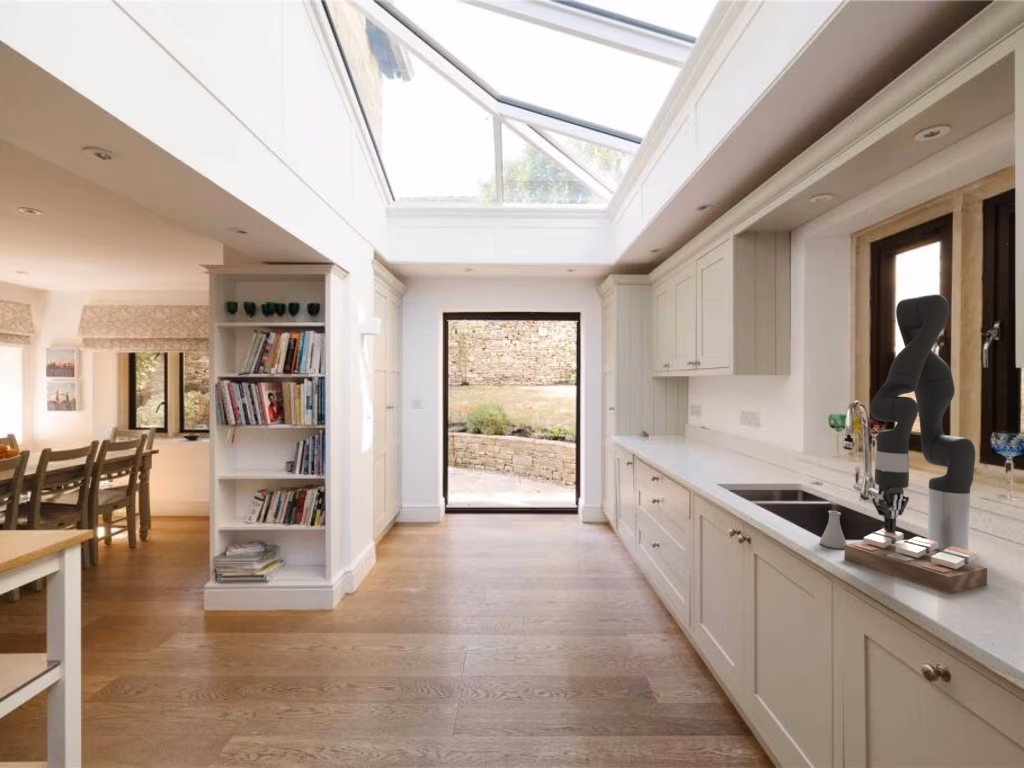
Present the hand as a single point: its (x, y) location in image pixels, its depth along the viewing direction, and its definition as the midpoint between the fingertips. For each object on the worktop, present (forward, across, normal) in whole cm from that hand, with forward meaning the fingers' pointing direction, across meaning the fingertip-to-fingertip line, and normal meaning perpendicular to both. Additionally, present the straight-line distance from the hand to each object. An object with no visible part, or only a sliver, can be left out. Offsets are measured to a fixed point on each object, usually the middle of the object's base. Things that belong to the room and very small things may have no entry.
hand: (889, 531), depth 139 cm
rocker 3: (+2, +3, +16) cm, 16 cm away
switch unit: (+8, +5, +8) cm, 12 cm away
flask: (+8, +4, -13) cm, 16 cm away
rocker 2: (+2, +3, +8) cm, 9 cm away
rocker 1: (+2, +3, 0) cm, 3 cm away
